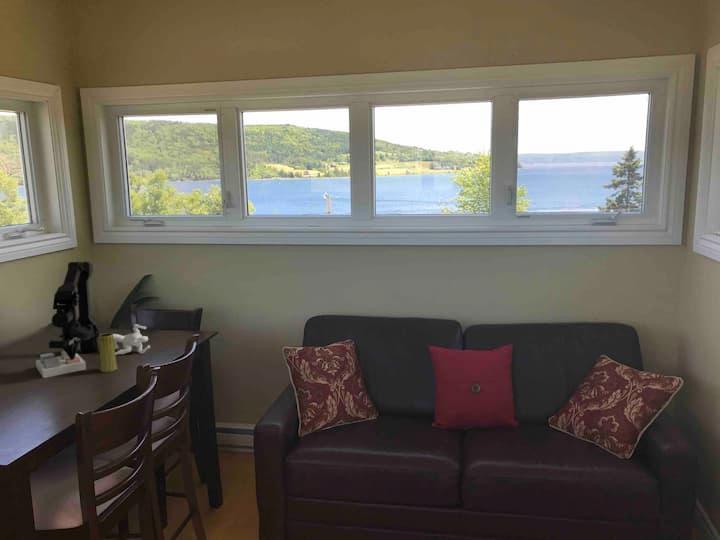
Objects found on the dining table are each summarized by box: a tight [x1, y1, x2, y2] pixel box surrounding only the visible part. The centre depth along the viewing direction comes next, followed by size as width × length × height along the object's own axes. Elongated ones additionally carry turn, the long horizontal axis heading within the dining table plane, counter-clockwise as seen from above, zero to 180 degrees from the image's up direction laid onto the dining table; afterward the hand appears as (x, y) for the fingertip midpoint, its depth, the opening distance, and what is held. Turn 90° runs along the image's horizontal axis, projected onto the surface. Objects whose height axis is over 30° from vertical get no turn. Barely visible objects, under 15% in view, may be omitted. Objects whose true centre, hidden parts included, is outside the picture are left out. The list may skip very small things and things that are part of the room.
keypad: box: [35, 352, 87, 379], centre depth 224 cm, size 15×15×3 cm
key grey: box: [44, 356, 59, 369], centre depth 219 cm, size 4×4×3 cm
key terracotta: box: [65, 357, 80, 365], centre depth 223 cm, size 4×4×3 cm
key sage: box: [60, 350, 76, 360], centre depth 229 cm, size 4×4×3 cm
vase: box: [98, 332, 118, 373], centre depth 221 cm, size 6×6×14 cm
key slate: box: [39, 352, 56, 364], centre depth 224 cm, size 4×4×3 cm
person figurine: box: [112, 323, 151, 356], centre depth 245 cm, size 13×13×18 cm
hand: (72, 359), depth 223 cm, fingers closed, pressing on key terracotta
